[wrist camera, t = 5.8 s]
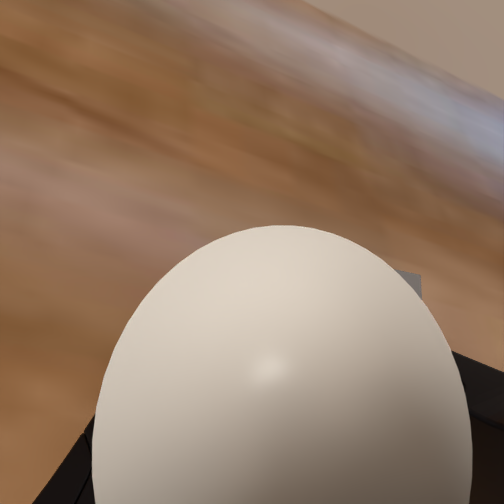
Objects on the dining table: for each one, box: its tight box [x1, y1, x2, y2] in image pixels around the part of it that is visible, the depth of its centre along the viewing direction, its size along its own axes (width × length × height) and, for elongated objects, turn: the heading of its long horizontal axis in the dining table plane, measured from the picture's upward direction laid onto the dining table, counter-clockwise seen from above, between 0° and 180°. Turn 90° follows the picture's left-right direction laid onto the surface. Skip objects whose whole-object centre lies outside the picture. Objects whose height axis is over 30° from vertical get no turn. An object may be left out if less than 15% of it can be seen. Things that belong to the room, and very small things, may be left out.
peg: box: [92, 226, 472, 504], centre depth 9 cm, size 5×5×12 cm
